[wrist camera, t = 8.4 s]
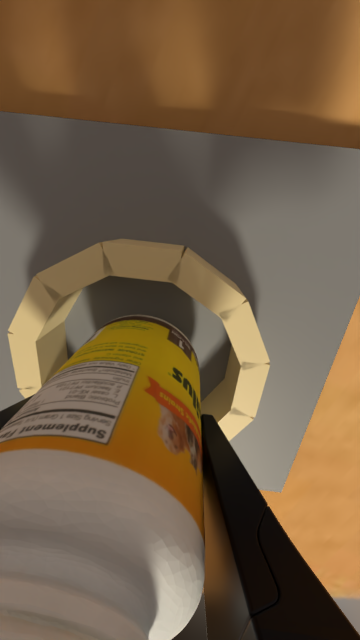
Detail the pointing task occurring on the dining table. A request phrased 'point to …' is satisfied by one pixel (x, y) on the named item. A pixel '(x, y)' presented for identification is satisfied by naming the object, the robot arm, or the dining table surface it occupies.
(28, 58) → the dining table surface
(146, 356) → the supplement bottle
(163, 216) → the grey board with ring
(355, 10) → the dining table surface
